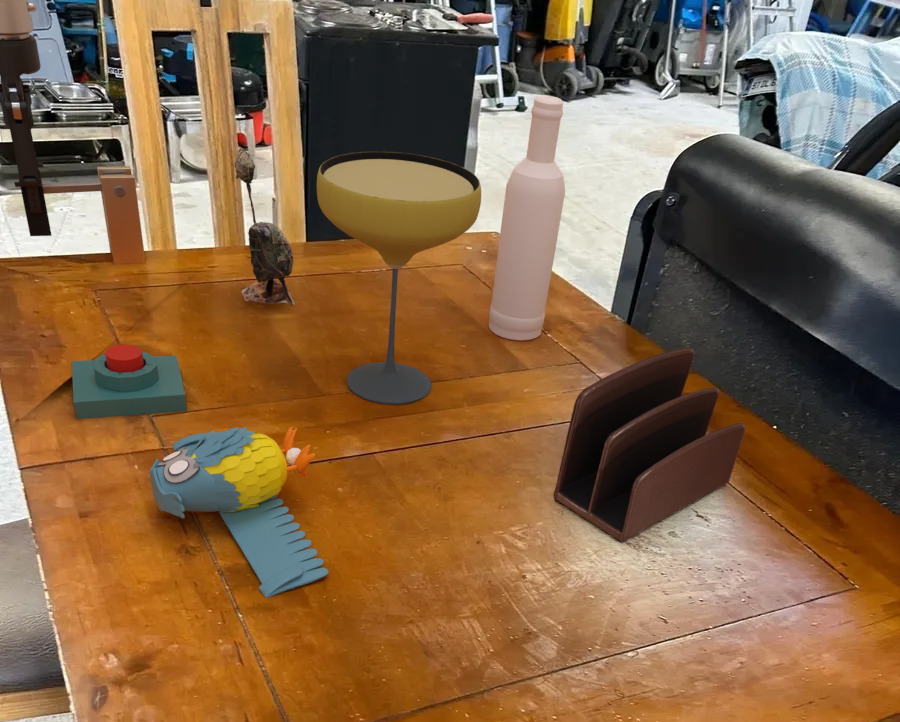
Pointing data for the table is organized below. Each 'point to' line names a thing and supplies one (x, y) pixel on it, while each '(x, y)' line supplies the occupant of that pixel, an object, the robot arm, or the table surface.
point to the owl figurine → (243, 498)
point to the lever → (73, 187)
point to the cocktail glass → (396, 234)
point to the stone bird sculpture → (265, 250)
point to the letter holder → (643, 446)
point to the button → (124, 358)
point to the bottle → (529, 230)
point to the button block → (127, 388)
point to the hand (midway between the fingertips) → (39, 226)
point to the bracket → (122, 215)
